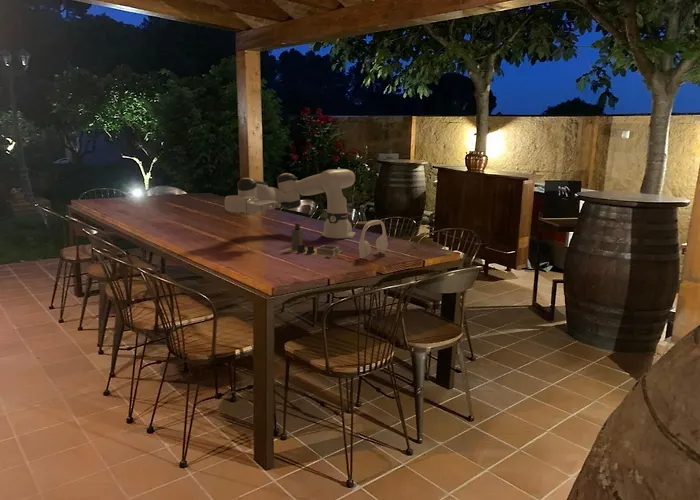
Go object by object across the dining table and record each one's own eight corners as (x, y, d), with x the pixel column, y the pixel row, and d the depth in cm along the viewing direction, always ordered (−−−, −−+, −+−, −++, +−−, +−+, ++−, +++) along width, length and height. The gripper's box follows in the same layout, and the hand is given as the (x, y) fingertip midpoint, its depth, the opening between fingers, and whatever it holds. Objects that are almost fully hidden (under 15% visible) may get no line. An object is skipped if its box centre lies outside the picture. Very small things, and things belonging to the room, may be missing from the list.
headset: (366, 260, 265) (368, 223, 262) (354, 258, 269) (355, 221, 266) (389, 253, 281) (391, 219, 277) (378, 251, 285) (379, 217, 281)
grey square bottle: (295, 248, 284) (295, 222, 282) (302, 248, 283) (302, 223, 280) (292, 249, 281) (292, 224, 278) (299, 250, 279) (299, 224, 277)
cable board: (294, 247, 291) (294, 238, 290) (342, 252, 282) (342, 243, 281) (280, 252, 277) (280, 243, 276) (330, 258, 267) (330, 249, 266)
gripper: (262, 208, 297) (285, 210, 292) (241, 213, 278) (265, 215, 273) (262, 197, 295) (285, 198, 291) (241, 200, 277) (265, 202, 272)
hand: (275, 206), depth 282 cm, fingers open, 8 cm apart
